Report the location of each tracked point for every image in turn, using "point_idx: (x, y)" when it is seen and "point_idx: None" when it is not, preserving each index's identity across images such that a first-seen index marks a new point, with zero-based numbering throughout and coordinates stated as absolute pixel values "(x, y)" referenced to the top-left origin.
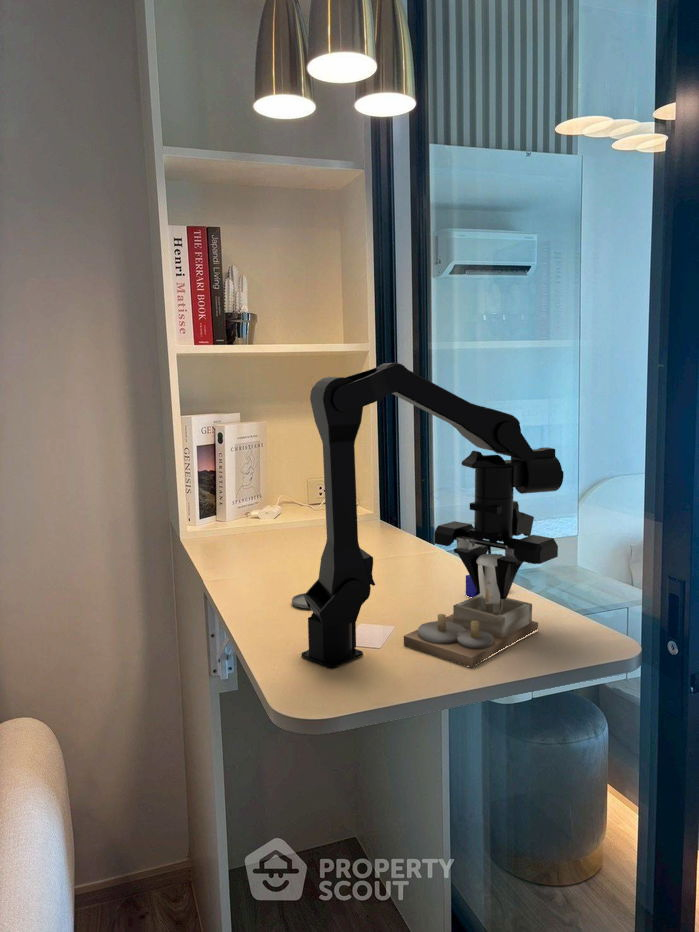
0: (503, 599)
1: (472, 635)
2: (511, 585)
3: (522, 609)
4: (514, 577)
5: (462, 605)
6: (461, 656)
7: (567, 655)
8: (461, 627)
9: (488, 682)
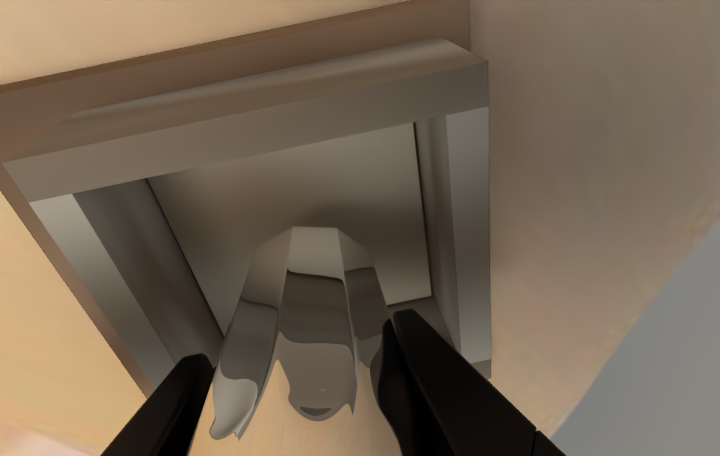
0: (385, 305)
1: None
2: (475, 369)
3: (487, 199)
4: (545, 441)
5: None
6: None
7: (689, 127)
8: None
9: (551, 421)
